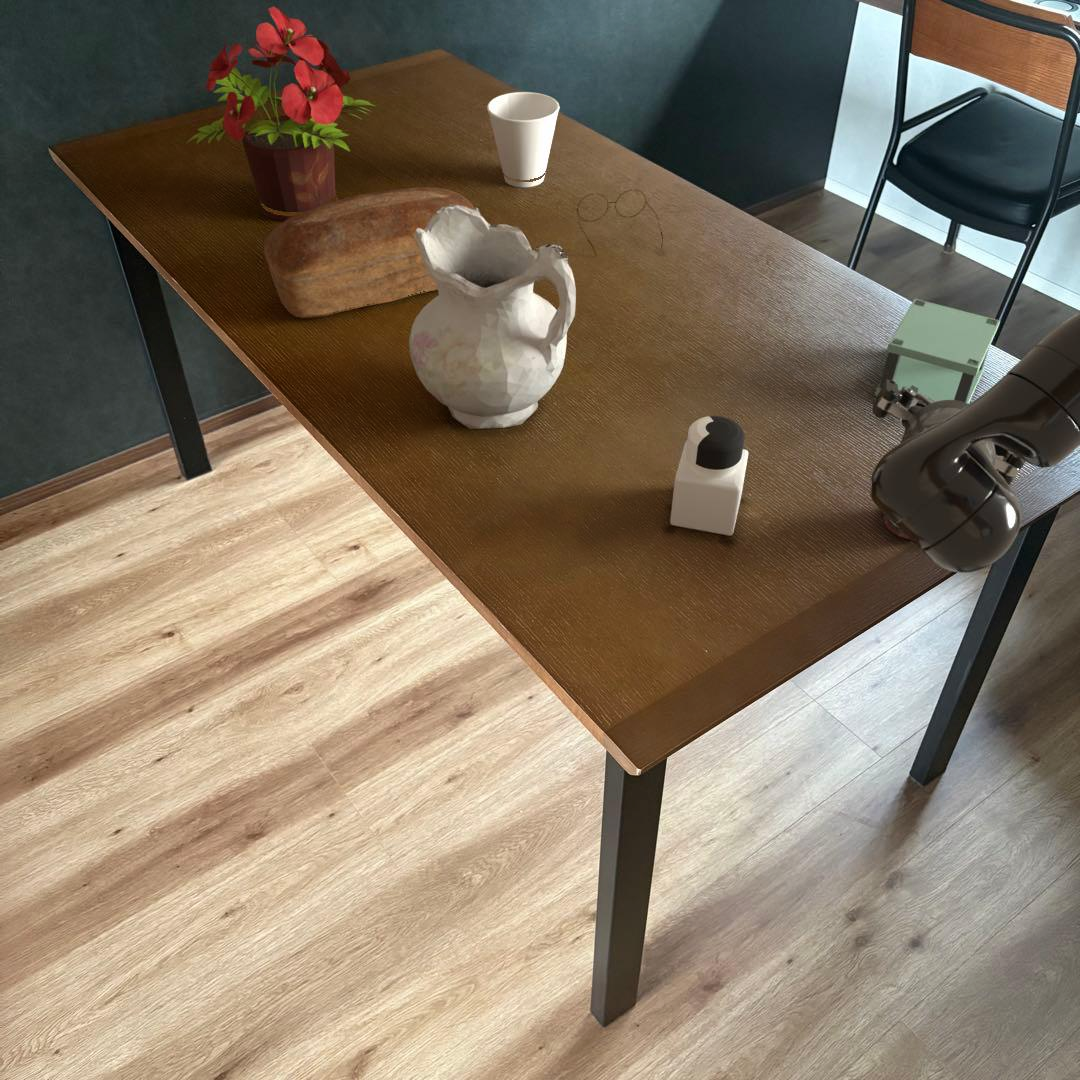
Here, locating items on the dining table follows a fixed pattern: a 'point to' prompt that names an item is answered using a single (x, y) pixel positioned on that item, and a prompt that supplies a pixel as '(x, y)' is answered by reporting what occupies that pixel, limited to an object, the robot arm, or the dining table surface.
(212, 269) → the dining table surface
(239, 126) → the potted plant
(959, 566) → the robot arm
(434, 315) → the ceramic pitcher
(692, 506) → the medicine bottle
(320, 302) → the bread
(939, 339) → the shelf rack
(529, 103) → the cup
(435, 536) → the dining table surface
